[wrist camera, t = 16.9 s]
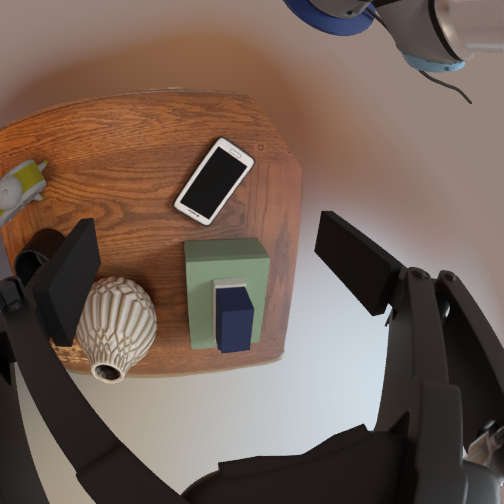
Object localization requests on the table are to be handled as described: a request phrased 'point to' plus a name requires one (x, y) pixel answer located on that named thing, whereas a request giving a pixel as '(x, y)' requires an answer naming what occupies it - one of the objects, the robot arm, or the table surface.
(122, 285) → the vase
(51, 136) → the table surface
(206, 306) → the sage green footstool
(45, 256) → the mug
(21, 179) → the alarm clock
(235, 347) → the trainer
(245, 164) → the cell phone
